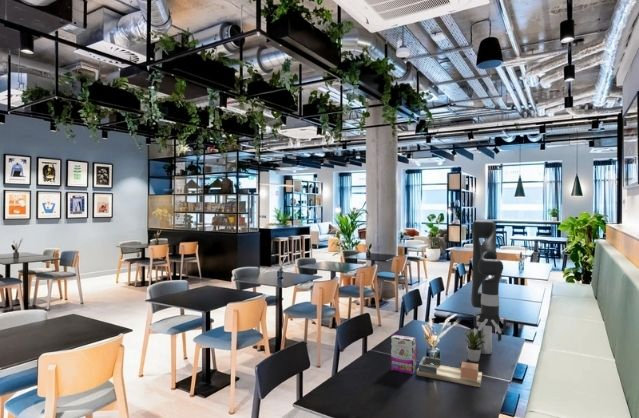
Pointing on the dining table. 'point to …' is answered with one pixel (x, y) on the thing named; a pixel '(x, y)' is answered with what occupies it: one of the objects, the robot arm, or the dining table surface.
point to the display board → (445, 372)
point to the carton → (469, 370)
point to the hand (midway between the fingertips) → (489, 339)
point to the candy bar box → (403, 354)
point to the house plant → (474, 346)
